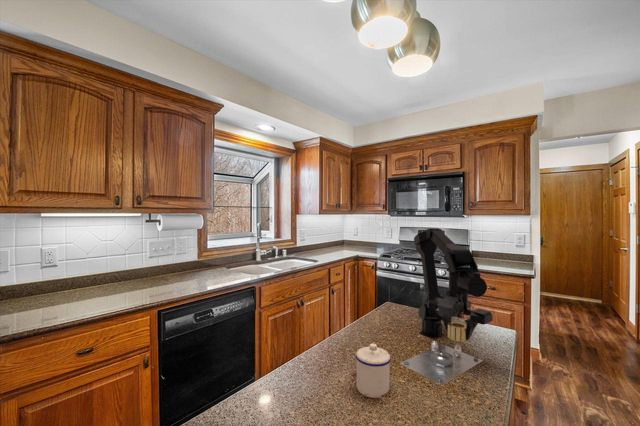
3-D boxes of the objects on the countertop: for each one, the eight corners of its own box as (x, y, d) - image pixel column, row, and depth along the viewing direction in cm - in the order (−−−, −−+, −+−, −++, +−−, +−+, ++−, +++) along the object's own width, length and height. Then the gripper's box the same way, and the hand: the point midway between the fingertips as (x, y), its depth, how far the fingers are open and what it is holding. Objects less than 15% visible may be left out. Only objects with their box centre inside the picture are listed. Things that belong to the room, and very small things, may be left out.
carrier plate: (399, 365, 89) (399, 351, 89) (441, 346, 102) (441, 333, 102) (441, 388, 78) (441, 371, 78) (483, 363, 91) (483, 349, 91)
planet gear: (443, 336, 94) (444, 324, 94) (453, 332, 98) (454, 320, 98) (462, 343, 90) (462, 330, 90) (471, 338, 93) (472, 326, 93)
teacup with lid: (397, 392, 76) (398, 347, 76) (371, 403, 71) (371, 356, 71) (367, 370, 86) (368, 331, 86) (342, 379, 81) (342, 337, 81)
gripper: (418, 285, 97) (417, 332, 97) (475, 299, 81) (474, 355, 81) (437, 281, 103) (436, 325, 103) (493, 293, 88) (493, 344, 88)
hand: (457, 336), depth 94 cm, fingers closed on planet gear, 6 cm apart
